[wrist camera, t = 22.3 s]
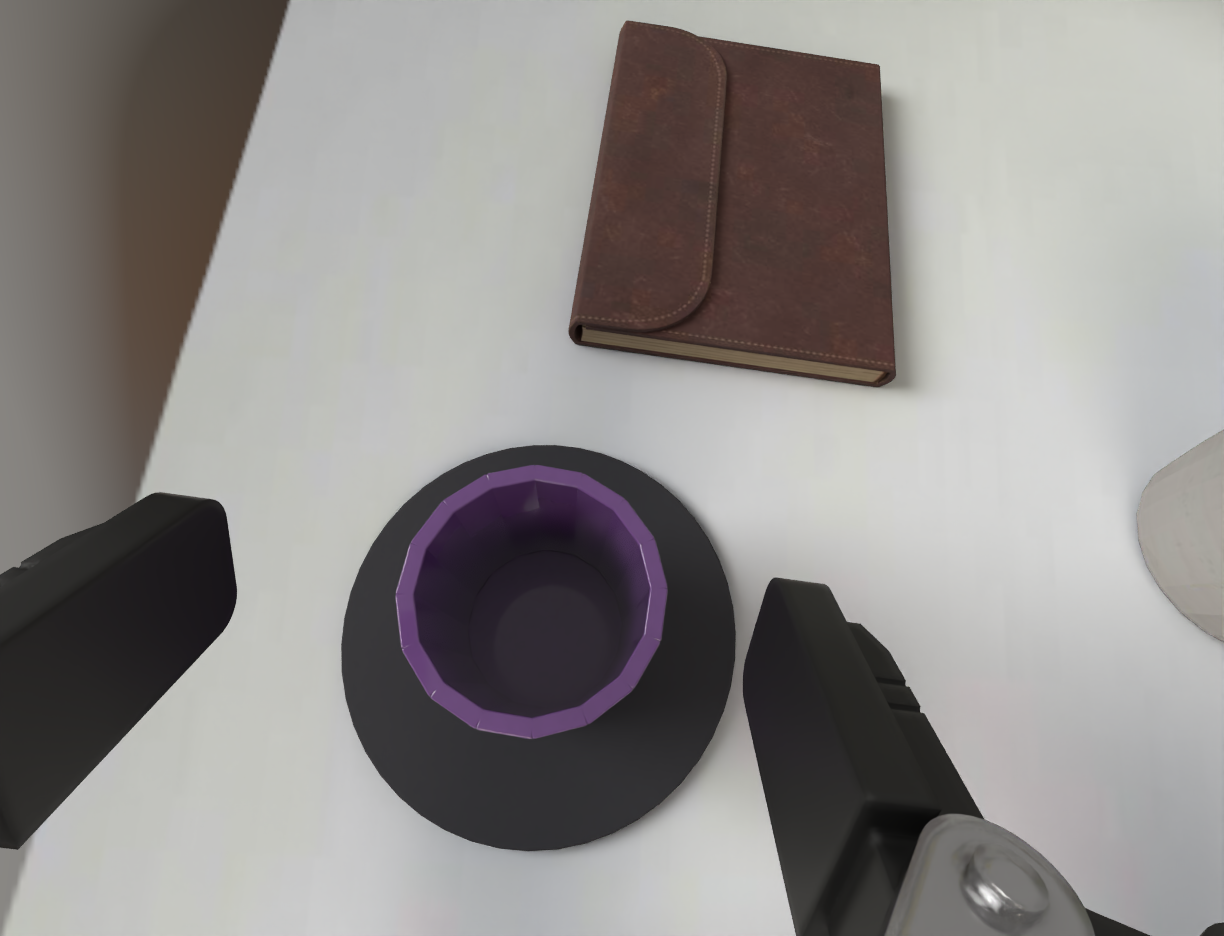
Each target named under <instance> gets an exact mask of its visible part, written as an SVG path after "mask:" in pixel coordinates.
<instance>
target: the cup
mask: <svg viewBox="0 0 1224 936" xmlns="http://www.w3.org/2000/svg"><path fill="white" fill-rule="evenodd" d="M667 593H668V589H667V582H666V578H665V574H664V571H663V567H662V563H661V559H660V555H659V551H658V548H657V544H656V540H655V539H654V536H653V535H652V534H651V532H650V531H649V530H648V528H647V527H646V526H645V524H644V523H643V522H642V520H641V519H640V518H639V516H638V515H637V513H636V512H635V511H634V509H633V508H632V507H631V505H630V504H629V503H628V501H627V500H624V497H622V496H620V495H619V494H617V493H615V492H614V491H612V490H611V489H609V488H607V487H606V486H604V485H602V484H601V483H599V482H598V481H596V480H594V479H593V478H591V477H589V476H588V475H586V474H583V473H581V472H575V471H570V470H564V469H559V468H553V467H547V466H542V465H529V466H524V467H519V468H514V469H508V470H503V471H498V472H493V473H488V474H487V475H483V476H482V477H480V478H478V479H477V480H475V481H474V482H472V483H470V484H469V485H467V486H465V487H464V488H462V489H461V490H459V491H457V492H456V493H454V494H452V495H451V496H449V497H448V498H446V499H444V500H443V502H441V503H440V504H439V506H438V507H437V508H436V510H435V511H434V512H433V513H432V515H431V516H430V517H429V519H428V520H427V521H426V523H425V524H424V525H423V526H422V528H421V529H420V530H419V532H418V533H417V534H416V536H415V537H414V538H413V539H412V541H411V543H410V545H409V548H408V551H407V555H406V558H405V562H404V565H403V569H402V572H401V575H400V579H399V582H398V586H397V589H396V594H397V595H396V596H395V599H396V608H397V617H398V626H399V635H400V644H401V648H402V652H403V653H404V655H405V657H406V659H407V660H408V662H409V664H410V665H411V667H412V669H413V671H414V672H415V674H416V676H417V677H418V679H419V681H420V682H421V684H422V686H423V688H424V689H425V691H426V693H427V694H428V696H431V697H430V698H431V699H432V700H434V701H435V702H436V703H438V704H439V705H441V706H442V707H444V708H445V709H447V710H448V711H449V712H451V713H452V714H454V715H455V716H457V717H458V718H459V719H461V720H462V721H464V722H465V723H467V724H468V725H470V726H471V727H472V728H474V729H476V728H477V730H479V731H485V732H491V733H497V734H502V735H508V736H514V737H520V738H525V739H532V738H533V739H537V738H541V737H545V736H549V735H552V734H556V733H560V732H564V731H568V730H572V729H576V728H580V727H584V726H586V725H587V724H591V723H592V722H593V721H595V720H596V719H597V718H598V717H600V716H601V715H602V714H604V713H605V712H606V711H607V710H609V709H610V708H611V707H613V706H614V705H615V704H616V703H618V702H619V701H620V700H622V699H623V698H624V697H625V696H627V695H628V694H629V693H631V692H632V690H633V689H634V688H635V687H636V685H637V683H638V682H639V680H640V678H641V676H642V674H643V673H644V671H645V669H646V667H647V666H648V664H649V662H650V660H651V659H652V657H653V655H654V653H655V652H656V650H657V648H658V646H659V645H660V641H661V639H662V632H663V624H664V616H665V609H666V601H667Z"/></svg>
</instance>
